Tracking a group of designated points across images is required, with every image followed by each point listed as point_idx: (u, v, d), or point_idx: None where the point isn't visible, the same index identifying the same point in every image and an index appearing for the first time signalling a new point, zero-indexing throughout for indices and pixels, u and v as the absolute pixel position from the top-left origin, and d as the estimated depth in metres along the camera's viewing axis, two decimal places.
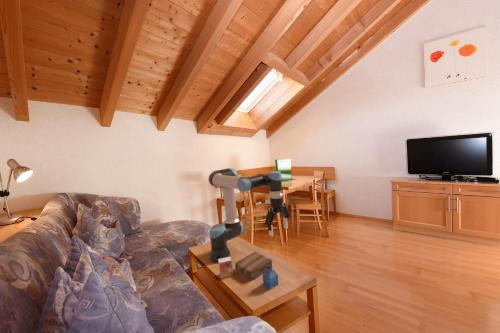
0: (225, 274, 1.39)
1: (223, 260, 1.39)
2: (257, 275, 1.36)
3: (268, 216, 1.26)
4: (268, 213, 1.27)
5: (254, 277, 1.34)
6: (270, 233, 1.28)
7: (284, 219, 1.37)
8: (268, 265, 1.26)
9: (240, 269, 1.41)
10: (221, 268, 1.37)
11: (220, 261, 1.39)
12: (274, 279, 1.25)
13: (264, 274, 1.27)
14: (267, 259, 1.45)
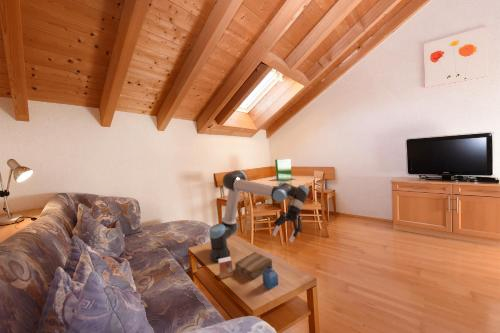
0: (225, 274, 1.39)
1: (223, 260, 1.39)
2: (257, 275, 1.36)
3: (300, 223, 1.32)
4: (300, 220, 1.33)
5: (254, 277, 1.34)
6: (292, 239, 1.28)
7: (277, 227, 1.40)
8: (268, 265, 1.27)
9: (240, 269, 1.41)
10: (221, 268, 1.37)
11: (220, 261, 1.39)
12: (274, 279, 1.25)
13: (264, 274, 1.27)
14: (267, 259, 1.45)
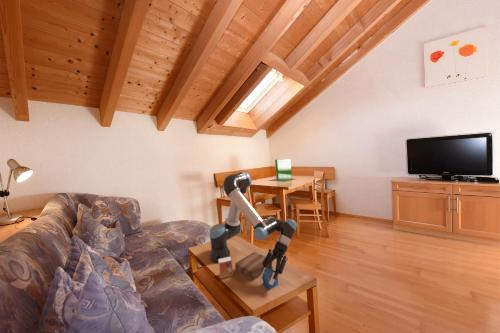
0: (225, 274, 1.39)
1: (223, 260, 1.39)
2: (258, 275, 1.36)
3: (283, 265, 1.25)
4: (284, 262, 1.26)
5: (255, 277, 1.34)
6: (271, 282, 1.23)
7: (265, 269, 1.30)
8: (268, 265, 1.26)
9: (240, 269, 1.41)
10: (221, 268, 1.37)
11: (220, 261, 1.39)
12: None
13: (264, 274, 1.27)
14: None
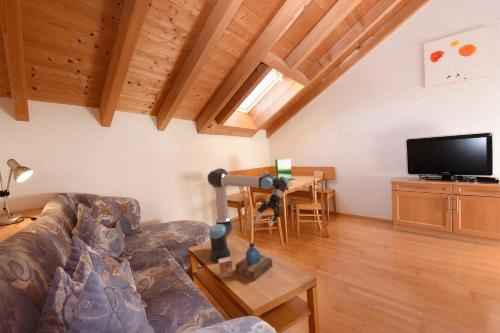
0: (225, 274, 1.39)
1: (223, 260, 1.39)
2: (259, 275, 1.36)
3: (279, 210, 1.48)
4: (279, 207, 1.49)
5: (256, 277, 1.34)
6: (271, 223, 1.45)
7: (260, 213, 1.56)
8: (251, 244, 1.43)
9: (241, 270, 1.40)
10: (221, 268, 1.37)
11: (220, 261, 1.39)
12: (256, 256, 1.42)
13: (247, 252, 1.43)
14: (267, 259, 1.46)
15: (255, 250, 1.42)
